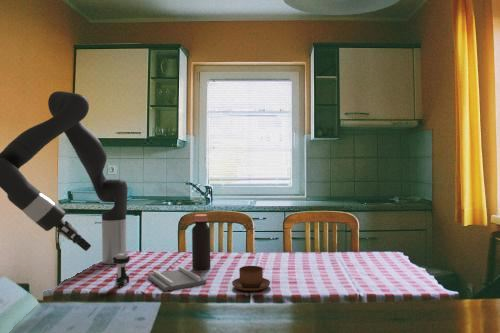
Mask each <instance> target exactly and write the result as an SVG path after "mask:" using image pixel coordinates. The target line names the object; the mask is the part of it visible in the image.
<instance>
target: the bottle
mask: <svg viewBox="0 0 500 333" xmlns="http://www.w3.org/2000/svg"><path fill="white" fill-rule="evenodd" d="M208 215H209V214H205V213H204V214H202V213H201V214H194V216H193V219H194V223H195V224H194V225H193V227H192V229H191V252H192V253H191V254H192V255H191V257H192V258H191V262H192V263H191V264H192V266H191V267H192V269H193V270H194V271H207V270H209V269H211V228H210V226H209V225H208V224H207V223H208Z"/></svg>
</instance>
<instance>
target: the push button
mask: <svg viewBox="0 0 500 333" xmlns="http://www.w3.org/2000/svg"><path fill="white" fill-rule="evenodd" d="M130 259H131V256H130V255H128V253H127V252H126V253H120V254H116V257H114V258H113V260H114V263H115V264H114V265H116V266H117V267H116V268H117V270H116V271H117V273H116V277H115V280H114V281H115V283H114V288H119V287H118V286H122V285H124V284H125V285H124V286H126V284H127V283H128V284H130V276H129V275H128V274H127V269H126V268H127V267H126V265H127V264H128V263H129V262H130ZM128 284H127V285H128ZM122 287H123V286H122Z"/></svg>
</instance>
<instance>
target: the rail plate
mask: <svg viewBox="0 0 500 333" xmlns="http://www.w3.org/2000/svg"><path fill="white" fill-rule="evenodd" d="M152 271H153V273H150V274H147V279H148V278H149V279H148V280H150V281H151V282H152V283H153V282H154V284H155V285H156V284H157V285H158V286H157V285H156V286H157V287H158V288H160V287H161V288H162V289H161V288H160V289H161V290H163V291H164V292H168V290H170V291H175V290H180V289H185V288H191V287H195V286H201V285H206V284H207V280H206V279H205V278H203V277H202V276H200V275H198V274H196V273H194V272H193V271H191V270H189V269H187V268H185V267H183V266H182V265H179V266H178V269H175V270H170V271H169V270H168V271H163V272H159V271H157V270H156V269H154V270H152ZM174 289H175V290H174Z"/></svg>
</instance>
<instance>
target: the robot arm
mask: <svg viewBox="0 0 500 333" xmlns="http://www.w3.org/2000/svg"><path fill="white" fill-rule="evenodd" d="M47 102H48V104H47V106H48V109H49V112H50V114H51V116H52V117H50V118H48V119H47V120H45V121H43V122H40V123H38V124H36V125H34V126H32V127H29V128H28V129H26V130H24V131H23V132H22V133H20V134H19V135H17V136H16V137H15V138H14V139H13V140H12V141H10V143H8V144H7V145H6V146H5V148H4V149H3V150H2V151H1V152H0V188H1V189H2V190H3V192H5V193H6V195H7V199H8V201H9V202H10V203H12V205H15V206H16V207H17V208H18V209H20V210H21V211H22V212H23V213H24V214H25V215H26V216H27V217H28V218H29V219H30V220H32V221H33V222H34V223H35V224H36V225H38V226H39V227H40V228H42V230H44V231H45V232H49V231H51V230H53V228H57V229H56V230H55V231H56V232H57V233H58V234H59V235H61V236H63V237H64V238H65V239H66V240H68V241H71V242H72V243H73V244H75V245H77V246H79V247H80V248H81V249H83V251H85V252H87V251H88V250H89V249H90V248H91V247H92V245H91V244H90V243H89V242H88V241H86V239H84V238H83V237H82V235H81V234H78V230H77V229H75V227H74V226H73V225H72V224H71V223H70V222H68V221H67V220H65V221H63V219H64V218H65V216H66V210H64V209H63V208H62V207H61V206H60V205H58V204H57V203H56V202H55V201H53V200H52V199H51V198H50V197H48V196H47V195H45V194H44V193H42V192H41V190H38V188H36V187H35V186H34V185H33V184H31V183H30V182H29V180H28V179H27V178H26V177H25V176H24V175H23V173H22V172H21V171H20V170H19V169H20V168H21V167H23V166H24V165H25V164H27V163H28V162H29V161H31V160H32V159H33V158H34V157H35V155H37V154H38V153H39V152H40V151H41V150H42V149H44V147H45V146H47V145H48V144H49V143H51V142H52V141H53V140H55V139H56V138H57V137H59V136H60V135H62V134H63V133H64V134H65V137H66V138H67V139H68V141H69V143H70V144H71V146H72V148H73V150H74V151H75V154H76V156H77V158H78V159H79V161H80V162H81V164H82V165H83V168H84V169H85V171H86V173H87V175H88V177H89V179H90V181H91V184H92V186H93V188H94V192H95V194H96V196H97V197H98V200H100V201H101V202H104V203H113V207H112V208H110V209H109V210H106V211H103V212H102V213H101V245H102V246H101V247H102V248H101V249H102V250H101V251H102V252H101V253H102V257H101V258H102V259H101V261H102V264H105V265H116V264H115V263H114V260H113V258H114V257H116V254H120V253H126V254H127V211H128V184H127V182H126V180H123V179H108V178H106V177H105V175H104V168H105V166H106V163H107V158H108V157H107V152H106V151H105V147H103V145H102V143H101V141H100V140H99V138H98V137H97V136H96V135H95V134H94V133H93V132H92V131H91V130H90V129H88V128H87V127H86V126H85V125H84V124H83V123H82V120H84V119H85V118H86V116H87V115H88V114H89V110H90V104H89V101H88V99H87V98H86V96H84V95H82V94H80V93H75V92H69V91H60V90H59V91H54V92H53V93H51V94H50V95H49V97H48V101H47Z"/></svg>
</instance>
